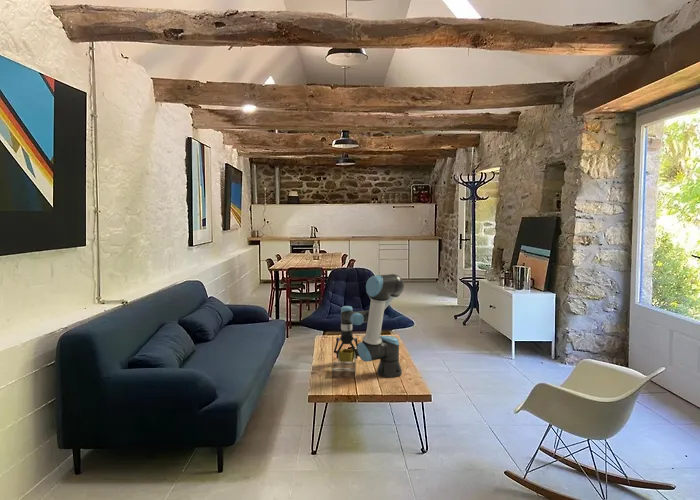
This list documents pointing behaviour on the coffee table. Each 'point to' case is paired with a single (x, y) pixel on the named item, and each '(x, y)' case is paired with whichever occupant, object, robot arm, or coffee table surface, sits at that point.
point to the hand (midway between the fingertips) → (347, 363)
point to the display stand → (344, 370)
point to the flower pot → (346, 355)
